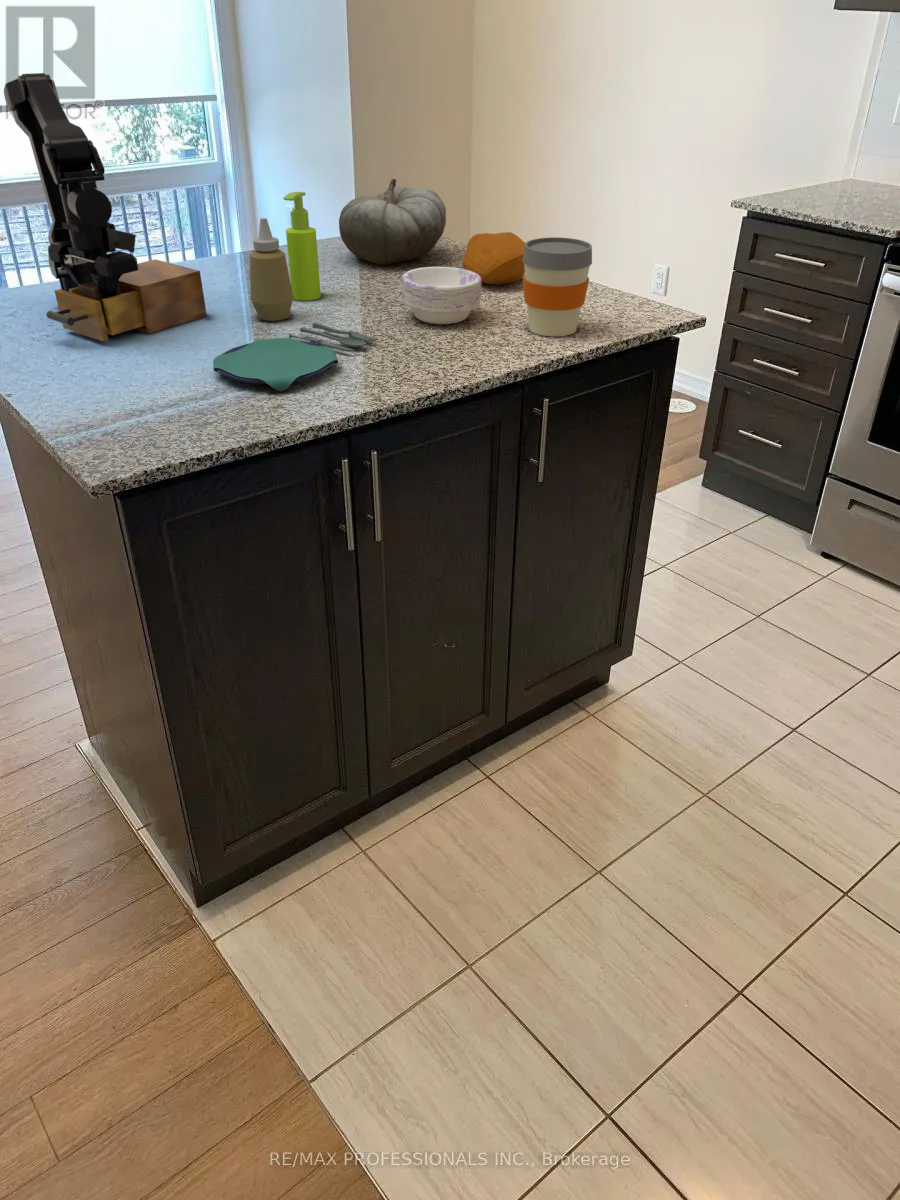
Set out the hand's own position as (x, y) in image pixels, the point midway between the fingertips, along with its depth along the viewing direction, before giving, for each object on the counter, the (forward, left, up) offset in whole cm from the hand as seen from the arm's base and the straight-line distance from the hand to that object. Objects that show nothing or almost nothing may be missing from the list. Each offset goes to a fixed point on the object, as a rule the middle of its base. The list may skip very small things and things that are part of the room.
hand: (102, 306), depth 164 cm
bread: (+58, +57, -5) cm, 81 cm away
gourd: (+31, +67, -5) cm, 74 cm away
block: (0, 0, -1) cm, 1 cm away
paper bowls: (+56, +28, -5) cm, 63 cm away
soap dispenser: (+25, +32, -5) cm, 41 cm away
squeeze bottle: (+25, +18, -5) cm, 31 cm away
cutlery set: (+40, -3, -5) cm, 41 cm away
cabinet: (+4, +10, -5) cm, 12 cm away
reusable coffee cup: (+78, +28, -5) cm, 83 cm away
